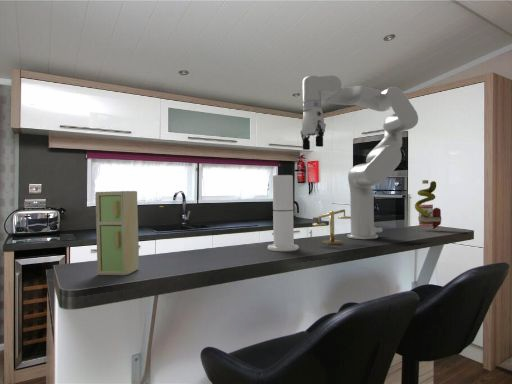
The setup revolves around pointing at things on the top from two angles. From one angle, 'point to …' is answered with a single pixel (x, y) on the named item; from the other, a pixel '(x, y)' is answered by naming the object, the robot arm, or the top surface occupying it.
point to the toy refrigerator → (117, 232)
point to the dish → (283, 248)
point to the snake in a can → (428, 207)
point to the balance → (318, 223)
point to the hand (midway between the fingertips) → (312, 148)
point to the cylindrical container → (283, 211)
